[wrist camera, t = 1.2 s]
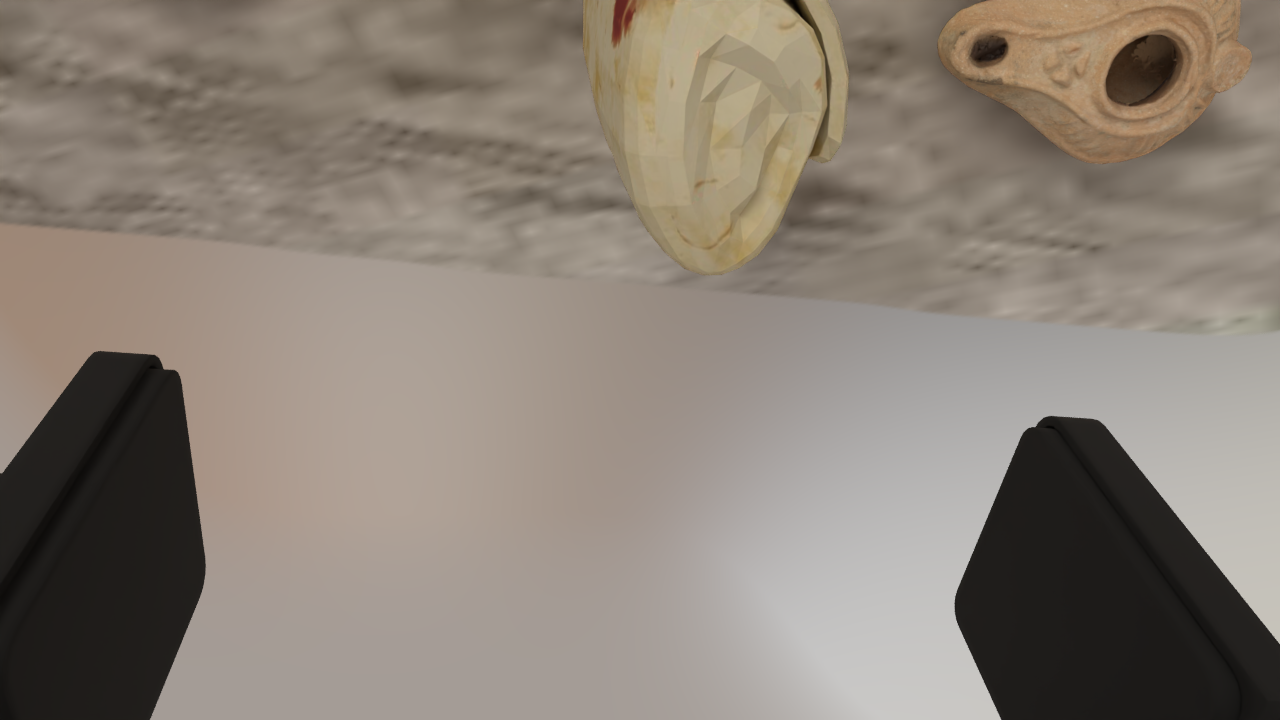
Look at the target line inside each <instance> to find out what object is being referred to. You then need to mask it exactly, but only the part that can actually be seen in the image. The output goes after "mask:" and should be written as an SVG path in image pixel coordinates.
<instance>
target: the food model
mask: <svg viewBox="0 0 1280 720" xmlns="http://www.w3.org/2000/svg"><path fill="white" fill-rule="evenodd" d="M583 51H584V55H585V60H586V65H587V69H588V74H589V79H590V83H591V88H592V93H593V97H594V102H595V106H596V110H597V114H598V117H599V120H600V122H601V125H602V128H603V131H604V134H605V138H606V141H607V143H608V145H609V148H610V150H611V152H612V154H613V157H614V160H615V163H616V167H617V170H618V172H619V175H620V177H621V179H622V181H623V183H624V185H625V188H626V190H627V192H628V194H629V196H630V198H631V201H632V203H633V205H634V207H635V209H636V211H637V214H638V216H639V218H640V220H641V221H642V223H643V225H644V226H645V228H646V229H647V231H648V232H649V233H650V234H651V236H652V237H653V238H654V240H655V241H656V242H657V243H658V245H659V246H660V247H661V248H662V250H663V251H664V252H665V253H666V254H667V255H668V256H670V257H671V258H672V259H673V260H674V261H676V262H677V263H678V264H679V265H681V266H682V267H683V268H684V269H687V270H690V271H693V272H696V273H699V274H701V275H722V274H725V273H727V272H730V271H733V270H735V269H738V268H740V267H742V266H743V265H744V264H746V263H747V262H749V261H750V260H752V259H753V258H754V257H756V256H757V255H759V253H760V252H761V251H762V249H763V248H764V247H765V245H766V244H767V243H768V241H769V240H770V239H771V238H772V236H773V235H774V234H775V232H776V231H777V229H778V227H779V225H780V222H781V220H782V218H783V215H784V213H785V211H786V208H787V206H788V204H789V201H790V199H791V197H792V194H793V192H794V190H795V188H796V185H797V183H798V181H799V178H800V176H801V174H802V172H803V169H804V167H805V165H806V163H807V160H808V158H809V159H812V160H815V161H817V162H820V163H825V162H828V161H831V159H832V158H833V156H834V155H835V153H836V152H837V150H838V149H839V147H840V145H841V143H842V139H843V136H844V133H845V130H846V126H847V107H848V87H849V70H848V65H847V61H846V56H845V52H844V47H843V43H842V38H841V34H840V29H839V25H838V22H837V20H836V18H835V16H834V14H833V11H832V9H831V7H830V5H829V3H828V1H827V0H583Z"/></svg>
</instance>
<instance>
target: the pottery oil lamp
mask: <svg viewBox="0 0 1280 720" xmlns="http://www.w3.org/2000/svg"><path fill="white" fill-rule="evenodd" d="M1240 2H1241V0H989V1H984V2H981V3H978V4H975V5H972V6H971V7H968V8H966V9H962V10H960V11H959V12H957V14H956V15H955V16H954V17H953V18H952V19H951V20H949V21H948V22H947V24H946V25H945V27H944V28H943V30H942V31H941V34H940V36H939V40H938V47H937V48H938V54H939V57H940V58H941V61H942V63H943V65H944V66H945V67H946V68H947V69H948V70H949V71H950V72H951V74H953V75H954V76H955V77H956V78H958V79H959V80H960V81H961V82H963V83H964V84H966V85H967V86H968V87H970V88H972V89H974V90H976V91H978V92H980V93H982V94H984V95H986V96H988V97H990V98H992V99H994V100H996V101H998V102H1001V103H1002V104H1004V105H1006V106H1008V107H1009V108H1011V109H1013V110H1015V111H1016V112H1017V113H1018V114H1020V115H1021V116H1022V117H1023V118H1024V119H1025V120H1027V121H1028V122H1029V123H1030V124H1031V125H1032V126H1034V127H1035V128H1036V129H1037V130H1038V131H1039V132H1041V133H1042V134H1043V135H1044V136H1045V137H1047V138H1048V139H1049V140H1050V141H1051V142H1052V143H1053V144H1055V145H1056V146H1058V147H1059V148H1060V149H1062V150H1063V151H1064V152H1066V153H1067V154H1069V155H1071V156H1073V157H1075V158H1077V159H1079V160H1081V161H1084V162H1088V163H1098V164H1106V163H1114V162H1122V161H1126V160H1129V159H1133V158H1137V157H1140V156H1143V155H1145V154H1147V153H1150V152H1152V151H1153V150H1155V149H1157V148H1159V147H1161V146H1162V145H1163V144H1165V143H1166V142H1167V141H1169V140H1170V139H1172V138H1173V137H1175V136H1176V135H1178V134H1180V133H1182V132H1183V131H1184V130H1185V129H1186V128H1188V127H1189V126H1190V125H1191V124H1192V123H1193V122H1194V121H1195V120H1196V119H1197V118H1198V117H1199V116H1200V115H1201V114H1202V113H1203V111H1204V110H1205V109H1206V108H1207V106H1208V105H1209V104H1210V103H1211V101H1212V99H1213V97H1214V95H1215V93H1216V92H1217V93H1220V92H1223V91H1226V90H1228V89H1229V88H1231V87H1233V86H1234V85H1236V84H1237V83H1239V82H1240V81H1241V80H1242V79H1243V78H1244V76H1245V75H1246V73H1247V72H1248V69H1249V67H1250V64H1251V61H1252V55H1251V52H1250V51H1249V50H1248V49H1247V48H1246V47H1244V46H1242V45H1241V44H1240V43H1238V42H1237V38H1238V32H1239V19H1240V7H1241V4H1240Z"/></svg>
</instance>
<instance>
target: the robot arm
mask: <svg viewBox="0 0 1280 720" xmlns="http://www.w3.org/2000/svg"><path fill="white" fill-rule="evenodd" d="M205 567H206V564H205V553H204V547H203V539H202V531H201V524H200V516H199V509H198V503H197V494H196V487H195V479H194V473H193V465H192V458H191V450H190V443H189V435H188V428H187V420H186V414H185V406H184V398H183V392H182V384H181V379H180V376H179V374H178V372H177V371H175V370H164V369H163V366H162V363H161V361H160V359H159V358H158V357H157V356H155V355H148V354H133V353H119V352H104V351H98V352H94V353H93V354H92V355H91V356H90V357H89V358H88V359H87V361H86V362H85V363H84V364H83V366H82V367H81V369H80V370H79V371H78V373H77V374H76V375H75V377H74V378H73V379H72V381H71V382H70V383H69V385H68V386H67V387H66V389H65V390H64V391H63V393H62V394H61V395H60V397H59V398H58V399H57V401H56V402H55V404H54V405H53V406H52V407H51V409H50V410H49V411H48V413H47V414H46V416H45V417H44V418H43V420H42V421H41V422H40V424H39V425H38V426H37V428H36V429H35V430H34V432H33V433H32V434H31V436H30V437H29V438H28V440H27V441H26V442H25V444H24V445H23V446H22V448H21V449H20V450H19V452H18V453H17V455H16V456H15V457H14V459H13V460H12V461H11V462H10V464H9V465H8V467H7V468H6V469H5V471H4V472H3V473H2V474H1V473H0V720H150V718H151V716H152V713H153V711H154V708H155V706H156V703H157V701H158V698H159V696H160V693H161V691H162V689H163V686H164V684H165V681H166V679H167V676H168V674H169V672H170V669H171V667H172V664H173V662H174V659H175V657H176V654H177V652H178V650H179V647H180V645H181V642H182V640H183V637H184V635H185V632H186V630H187V628H188V625H189V622H190V620H191V618H192V615H193V613H194V610H195V608H196V605H197V603H198V601H199V598H200V595H201V592H202V589H203V585H204V579H205ZM955 615H956V620H957V623H958V625H959V628H960V630H961V632H962V634H963V637H964V639H965V641H966V643H967V645H968V648H969V650H970V652H971V654H972V656H973V659H974V661H975V663H976V665H977V667H978V670H979V672H980V674H981V676H982V678H983V680H984V683H985V685H986V687H987V689H988V691H989V693H990V696H991V698H992V700H993V702H994V705H995V707H996V709H997V711H998V713H999V715H1000V717H1001V720H1280V644H1279V643H1278V641H1277V640H1276V639H1275V638H1274V637H1273V635H1272V634H1271V633H1270V631H1269V630H1268V629H1267V628H1266V626H1265V625H1264V624H1263V623H1262V621H1260V619H1259V618H1258V617H1257V615H1256V614H1255V613H1254V612H1253V610H1252V609H1251V608H1250V607H1249V605H1248V604H1247V603H1246V602H1245V600H1244V599H1243V598H1242V597H1241V595H1240V594H1239V593H1238V592H1237V590H1236V589H1235V588H1234V587H1233V585H1232V584H1231V583H1230V582H1229V580H1228V579H1227V578H1226V577H1225V575H1224V574H1223V573H1222V572H1221V570H1220V569H1219V568H1218V567H1217V565H1216V564H1215V563H1214V562H1213V560H1212V559H1211V558H1210V557H1209V555H1208V554H1207V553H1206V552H1205V550H1204V549H1203V548H1202V547H1201V545H1200V544H1199V543H1198V542H1197V540H1196V539H1195V538H1194V537H1193V535H1192V534H1191V533H1190V532H1189V530H1188V529H1187V528H1186V527H1185V525H1184V524H1183V523H1182V522H1181V520H1180V519H1179V518H1178V517H1177V515H1176V514H1175V513H1174V512H1173V510H1172V509H1171V508H1170V507H1169V505H1168V504H1167V503H1166V502H1165V500H1164V499H1163V498H1162V497H1161V495H1160V494H1159V493H1158V492H1157V490H1156V489H1155V488H1154V487H1153V485H1152V484H1151V483H1150V482H1149V480H1148V479H1147V478H1146V477H1145V476H1144V474H1143V473H1142V472H1141V470H1139V468H1138V467H1137V466H1136V464H1135V463H1134V462H1133V461H1132V459H1131V458H1130V457H1129V455H1128V454H1127V453H1126V452H1125V451H1124V449H1123V448H1122V447H1121V445H1120V444H1119V443H1118V442H1117V440H1116V439H1115V438H1114V437H1113V435H1112V434H1111V433H1110V432H1109V430H1108V429H1107V428H1106V427H1105V426H1104V425H1103V424H1102V423H1101V422H1100V421H1098V420H1094V419H1086V418H1072V417H1071V418H1070V417H1057V416H1048V417H1045V418H1043V419H1042V420H1041V421H1040V422H1039V423H1038V424H1037V426H1036V427H1032V428H1028V429H1027V430H1026V431H1025V432H1024V433H1023V435H1022V437H1021V439H1020V441H1019V444H1018V446H1017V448H1016V450H1015V453H1014V455H1013V458H1012V461H1011V463H1010V465H1009V467H1008V470H1007V472H1006V474H1005V477H1004V479H1003V482H1002V484H1001V486H1000V489H999V492H998V494H997V496H996V499H995V501H994V503H993V506H992V508H991V510H990V513H989V515H988V518H987V520H986V522H985V525H984V527H983V530H982V532H981V534H980V537H979V539H978V542H977V544H976V546H975V549H974V551H973V554H972V556H971V558H970V561H969V563H968V566H967V568H966V570H965V573H964V575H963V578H962V580H961V583H960V585H959V587H958V590H957V593H956V596H955Z"/></svg>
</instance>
